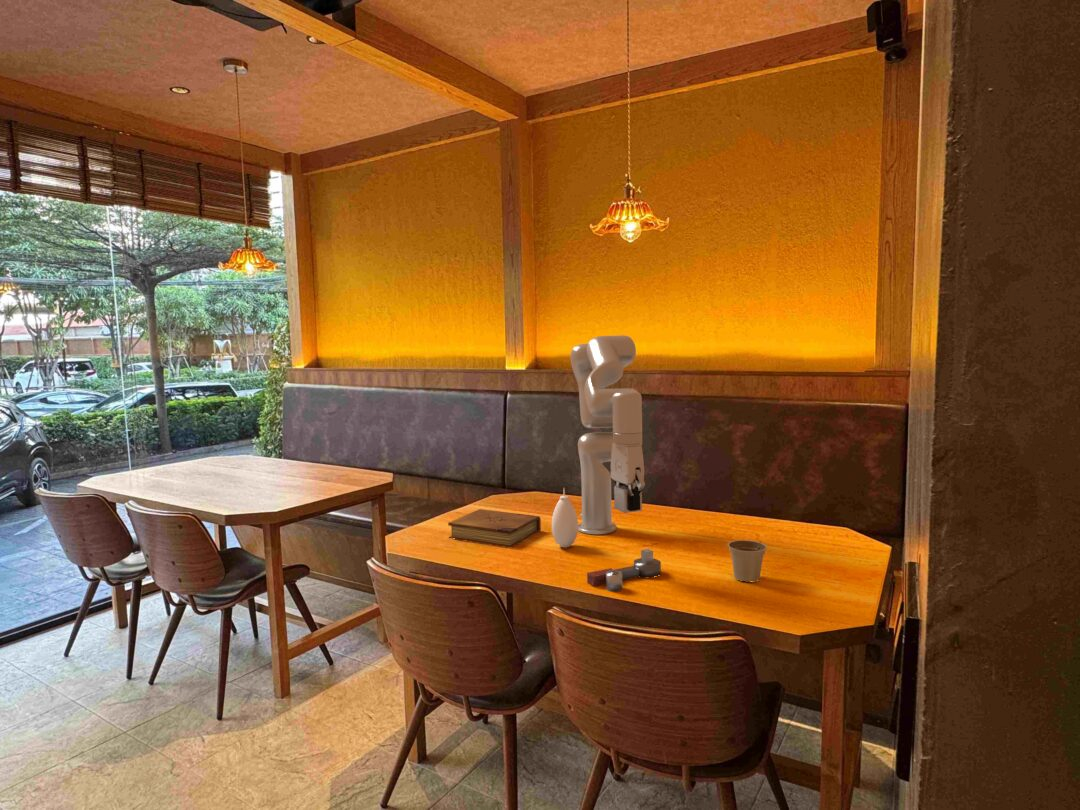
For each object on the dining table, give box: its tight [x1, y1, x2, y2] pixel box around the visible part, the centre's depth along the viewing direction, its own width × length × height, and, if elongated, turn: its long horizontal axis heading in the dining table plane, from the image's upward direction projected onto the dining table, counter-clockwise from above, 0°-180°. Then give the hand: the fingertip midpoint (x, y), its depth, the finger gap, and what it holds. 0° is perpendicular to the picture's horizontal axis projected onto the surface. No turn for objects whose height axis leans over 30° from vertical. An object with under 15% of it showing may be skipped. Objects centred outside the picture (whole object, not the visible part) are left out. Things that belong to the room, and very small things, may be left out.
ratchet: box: [586, 548, 662, 588], centre depth 168 cm, size 7×20×6 cm, turn 114°
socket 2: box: [613, 485, 643, 514], centre depth 170 cm, size 5×5×6 cm
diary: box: [447, 508, 542, 548], centre depth 209 cm, size 23×19×6 cm
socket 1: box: [605, 569, 623, 593], centre depth 161 cm, size 4×4×4 cm
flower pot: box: [727, 539, 768, 583], centre depth 165 cm, size 9×9×9 cm
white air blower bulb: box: [551, 488, 579, 549], centre depth 194 cm, size 8×8×18 cm
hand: (628, 507), depth 171 cm, fingers closed on socket 2, 5 cm apart
